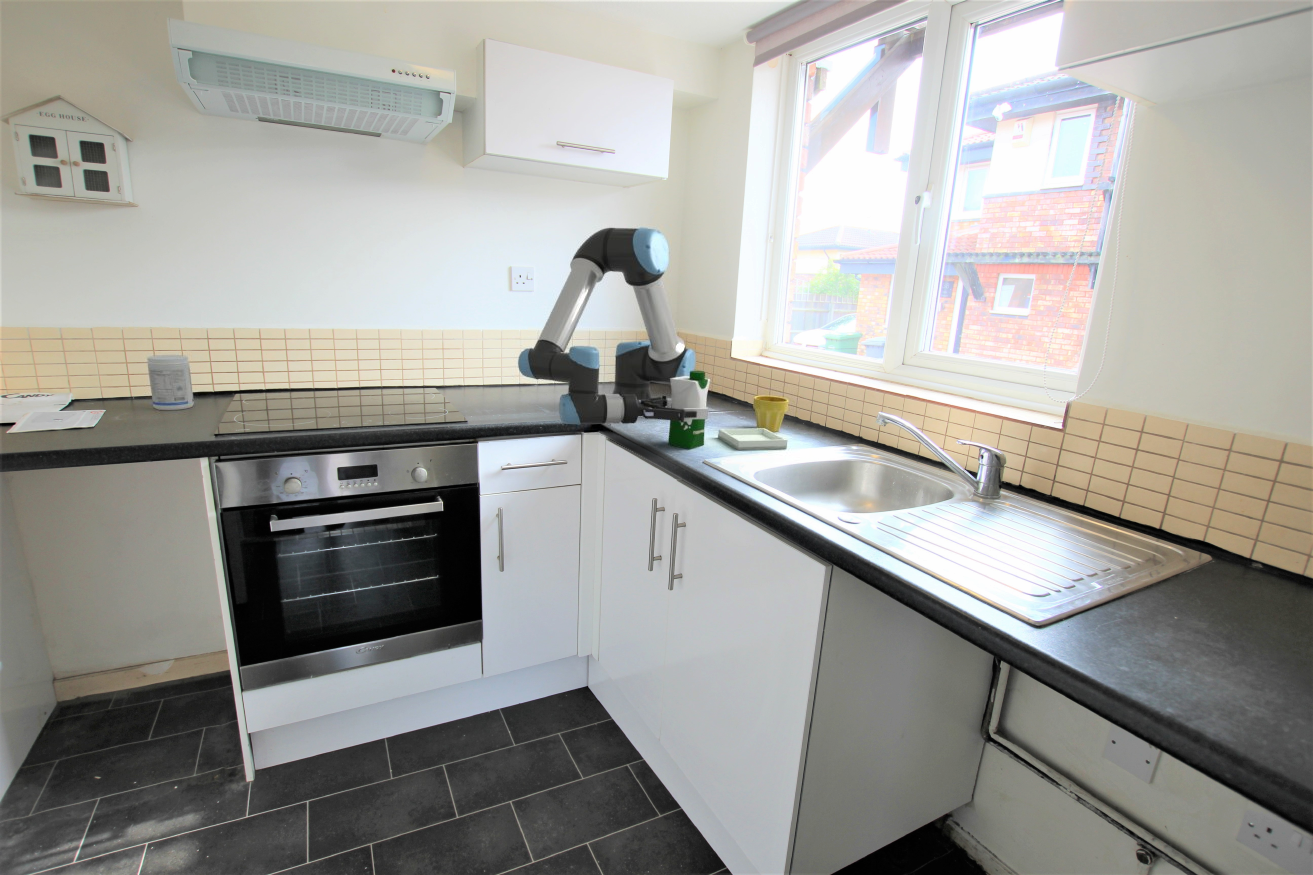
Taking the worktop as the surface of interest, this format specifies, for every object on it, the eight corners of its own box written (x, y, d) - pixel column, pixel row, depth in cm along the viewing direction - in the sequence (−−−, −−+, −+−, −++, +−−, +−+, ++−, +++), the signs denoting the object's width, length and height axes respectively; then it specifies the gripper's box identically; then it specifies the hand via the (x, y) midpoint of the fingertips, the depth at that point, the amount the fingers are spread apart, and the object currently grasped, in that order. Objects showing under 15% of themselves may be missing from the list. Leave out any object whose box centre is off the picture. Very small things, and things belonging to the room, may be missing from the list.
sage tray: (718, 437, 185) (718, 429, 185) (763, 436, 189) (764, 428, 189) (738, 450, 172) (739, 441, 172) (786, 448, 176) (787, 439, 176)
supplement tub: (165, 404, 191) (159, 354, 188) (200, 404, 193) (195, 355, 190) (145, 410, 182) (138, 358, 179) (183, 411, 184) (177, 359, 180)
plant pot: (785, 435, 193) (788, 402, 191) (750, 431, 195) (752, 399, 193) (785, 428, 203) (788, 397, 201) (752, 425, 205) (754, 394, 203)
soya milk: (691, 450, 169) (696, 374, 164) (662, 444, 174) (666, 370, 169) (708, 445, 176) (714, 371, 171) (680, 439, 181) (685, 367, 177)
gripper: (609, 413, 180) (682, 412, 186) (632, 434, 157) (714, 432, 163) (610, 386, 178) (683, 386, 184) (633, 403, 155) (716, 403, 161)
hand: (698, 408), depth 174 cm, fingers open, 13 cm apart
